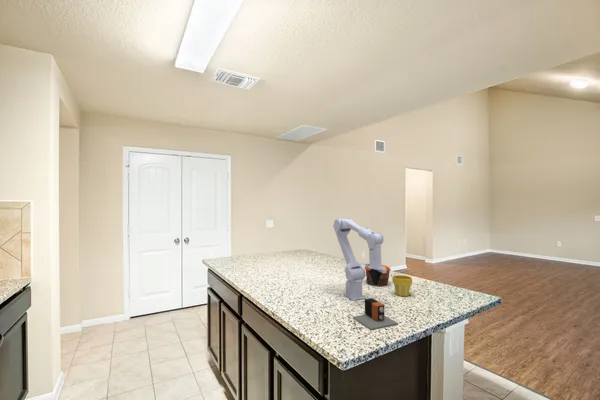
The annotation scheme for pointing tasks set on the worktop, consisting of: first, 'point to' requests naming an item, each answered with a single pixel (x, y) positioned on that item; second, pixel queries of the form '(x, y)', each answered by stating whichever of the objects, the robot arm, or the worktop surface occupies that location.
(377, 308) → the battery
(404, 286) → the plant pot
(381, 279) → the food container
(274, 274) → the worktop surface
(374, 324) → the mat
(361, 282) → the robot arm
